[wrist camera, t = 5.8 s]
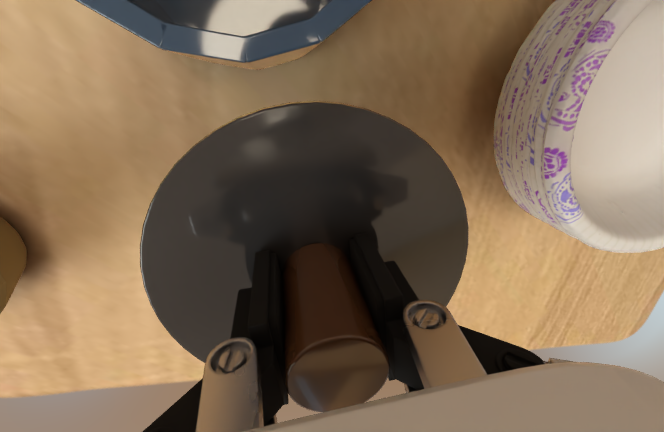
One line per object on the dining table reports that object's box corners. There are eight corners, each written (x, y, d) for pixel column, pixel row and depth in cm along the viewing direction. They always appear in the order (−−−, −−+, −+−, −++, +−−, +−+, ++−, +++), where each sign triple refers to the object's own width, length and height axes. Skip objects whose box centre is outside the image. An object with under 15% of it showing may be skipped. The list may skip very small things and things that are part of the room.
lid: (494, 124, 13) (660, 164, 7) (414, 362, 17) (476, 492, 12) (136, 71, 10) (-31, 72, 5) (161, 369, 15) (96, 539, 9)
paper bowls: (429, 63, 20) (519, 55, 12) (655, -87, 18) (901, -192, 11) (500, 241, 26) (588, 303, 19) (672, 137, 25) (836, 162, 18)
